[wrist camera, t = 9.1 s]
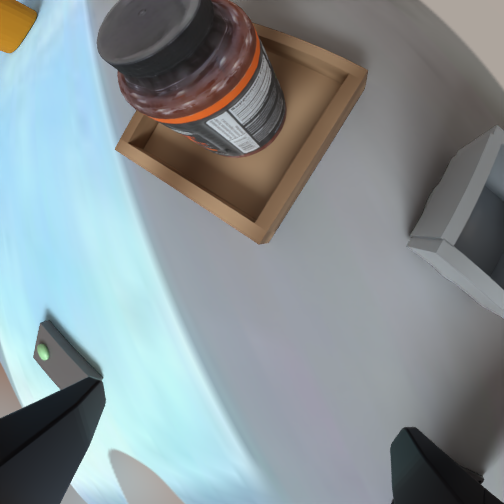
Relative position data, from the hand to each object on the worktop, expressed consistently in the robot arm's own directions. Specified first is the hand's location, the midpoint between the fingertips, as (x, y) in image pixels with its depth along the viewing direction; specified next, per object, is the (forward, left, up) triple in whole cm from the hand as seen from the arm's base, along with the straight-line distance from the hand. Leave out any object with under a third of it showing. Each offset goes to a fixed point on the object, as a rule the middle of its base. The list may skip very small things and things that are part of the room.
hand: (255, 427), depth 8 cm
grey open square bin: (-6, -11, -11) cm, 17 cm away
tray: (+10, -9, -11) cm, 17 cm away
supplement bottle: (+10, -9, -11) cm, 17 cm away
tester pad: (+14, +17, -11) cm, 25 cm away
